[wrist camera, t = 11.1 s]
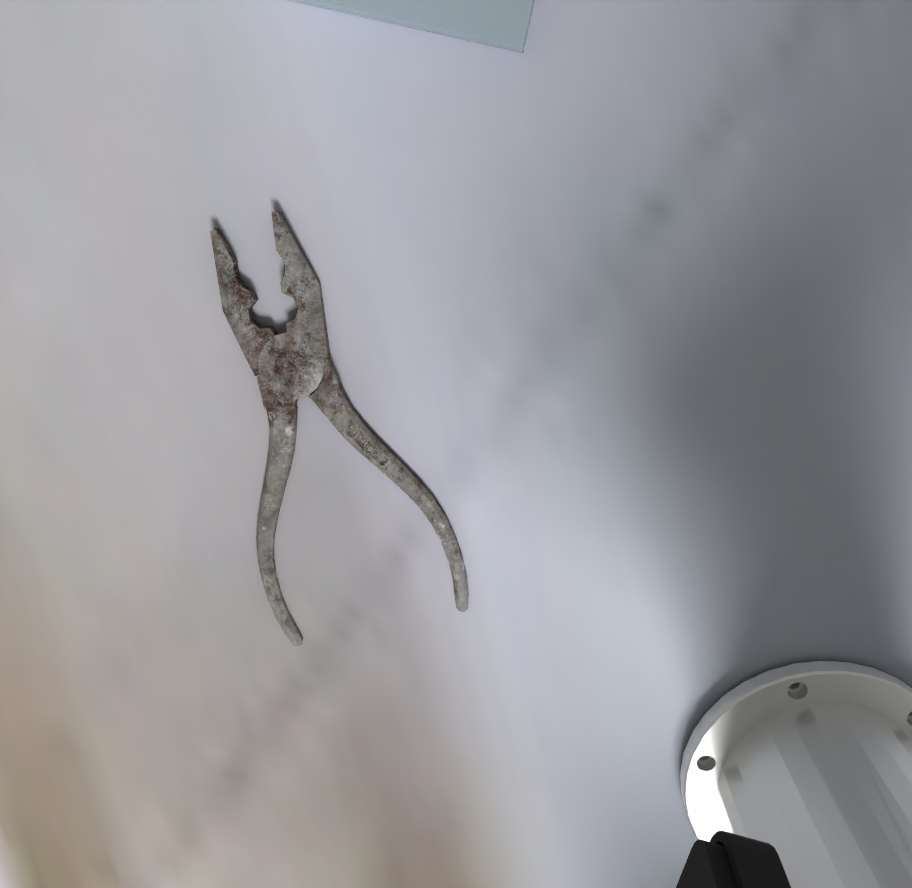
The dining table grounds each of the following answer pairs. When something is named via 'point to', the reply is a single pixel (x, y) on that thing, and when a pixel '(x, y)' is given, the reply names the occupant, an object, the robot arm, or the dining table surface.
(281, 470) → the pliers
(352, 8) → the piston block
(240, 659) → the dining table surface
